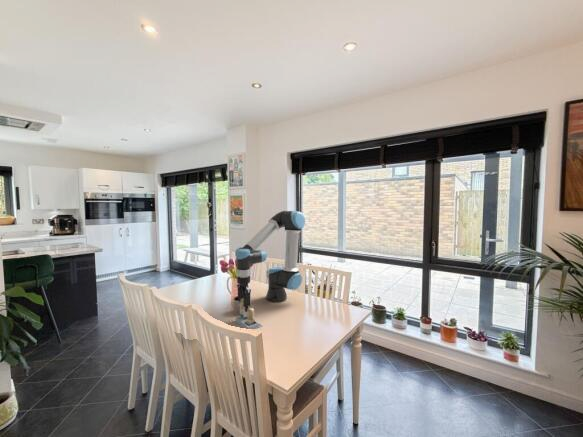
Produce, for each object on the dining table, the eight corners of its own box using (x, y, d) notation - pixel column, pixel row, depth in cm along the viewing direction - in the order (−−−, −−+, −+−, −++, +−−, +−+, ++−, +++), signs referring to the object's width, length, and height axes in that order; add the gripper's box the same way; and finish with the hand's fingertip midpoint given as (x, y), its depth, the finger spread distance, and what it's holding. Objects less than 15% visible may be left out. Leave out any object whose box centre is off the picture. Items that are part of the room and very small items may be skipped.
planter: (254, 311, 168) (253, 296, 167) (242, 317, 158) (242, 302, 158) (241, 307, 173) (241, 293, 173) (229, 313, 164) (229, 299, 163)
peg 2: (252, 324, 148) (251, 307, 148) (255, 326, 145) (255, 309, 144) (245, 326, 146) (245, 309, 145) (249, 329, 143) (248, 311, 142)
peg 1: (245, 314, 154) (245, 297, 154) (248, 316, 151) (248, 299, 151) (239, 315, 152) (239, 299, 151) (242, 318, 149) (242, 301, 148)
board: (250, 317, 159) (250, 312, 159) (263, 327, 146) (263, 322, 146) (232, 322, 152) (231, 318, 151) (244, 333, 139) (244, 328, 139)
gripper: (231, 273, 155) (232, 311, 156) (244, 280, 141) (244, 322, 143) (243, 271, 159) (243, 308, 161) (256, 278, 146) (256, 318, 147)
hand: (244, 315), depth 152 cm, fingers closed on peg 1, 4 cm apart
